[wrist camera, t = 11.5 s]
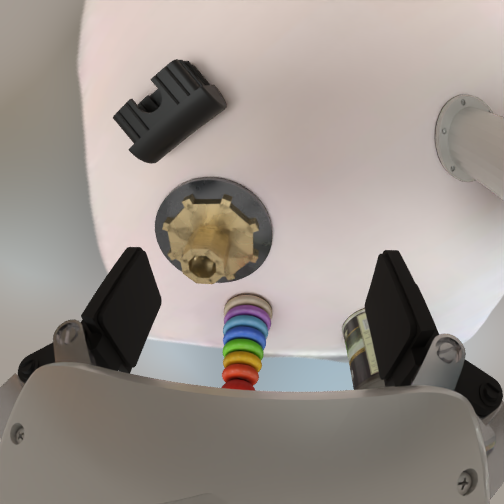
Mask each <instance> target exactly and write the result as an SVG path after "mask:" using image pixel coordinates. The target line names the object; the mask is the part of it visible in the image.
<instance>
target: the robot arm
mask: <svg viewBox="0 0 504 504" xmlns="http://www.w3.org/2000/svg"><path fill="white" fill-rule="evenodd" d="M435 140H436V149H437V153H438V156H439V159H440V161H441V163H442V165H443V167H444V168H445V170H446V171H447V172H448V173H449V174H450V175H452V176H453V177H455V178H456V179H458V180H460V181H464V182H473V181H476V180H477V181H478V182H480V183H481V184H482V185H484V186H485V187H486V188H488V189H489V190H490V191H492V192H493V193H494V194H495V195H497V196H498V197H499V198H500V199H502V200H503V201H504V117H501V116H498V115H496V114H493V113H492V111H491V110H490V108H489V107H488V106H487V105H486V104H485V103H484V102H483V101H482V100H480V99H479V98H477V97H474V96H470V95H459V96H456V97H454V98H452V99H451V100H450V101H448V103H447V104H446V105H445V106H444V107H443V109H442V111H441V113H440V115H439V118H438V121H437V126H436V136H435ZM160 306H161V296H160V293H159V290H158V287H157V284H156V282H155V279H154V276H153V273H152V270H151V267H150V264H149V260H148V257H147V254H146V252H145V251H143V250H142V248H140V247H128V248H127V249H126V250H125V251H124V252H123V254H122V255H121V257H120V258H119V259H118V261H117V262H116V264H115V265H114V266H113V268H112V269H111V271H110V272H109V274H108V275H107V276H106V278H105V279H104V281H103V282H102V284H101V285H100V287H99V288H98V290H97V291H96V293H95V295H94V296H93V297H92V299H91V301H90V302H89V304H88V306H87V307H86V309H85V310H84V312H83V313H82V315H81V317H82V319H83V320H82V321H81V323H80V322H79V321H77V320H68V321H65V322H64V323H62V324H61V325H60V326H59V327H58V328H57V329H56V331H55V333H54V335H53V343H51V344H49V345H47V346H45V347H44V348H42V349H40V350H38V351H36V352H34V353H32V354H30V355H28V356H27V357H25V358H24V359H23V361H22V362H21V363H20V365H19V369H18V375H17V374H14V375H13V376H12V377H11V378H10V379H8V381H7V382H5V383H4V384H3V385H2V386H1V387H0V438H1V442H0V504H490V499H491V498H492V497H493V495H494V494H495V493H496V492H497V490H498V489H499V488H500V486H501V485H502V483H503V482H504V402H503V401H502V398H503V394H502V389H501V386H500V384H499V383H498V382H497V381H496V380H495V379H494V378H493V377H491V376H489V375H488V374H486V373H485V372H483V371H482V370H480V369H479V368H477V367H476V366H474V365H473V364H471V363H470V362H468V361H467V360H465V355H466V353H465V348H464V346H463V344H462V343H461V341H460V340H459V339H458V338H456V337H455V336H453V335H450V334H440V335H439V333H438V331H437V328H436V326H435V323H434V321H433V319H432V316H431V314H430V312H429V309H428V307H427V305H426V303H425V300H424V298H423V296H422V294H421V292H420V290H419V287H418V286H417V284H415V282H414V280H413V278H412V276H411V274H410V272H409V270H408V268H407V266H406V264H405V262H404V260H403V258H402V256H401V254H400V252H399V251H397V250H385V251H384V252H383V254H379V256H378V260H377V264H376V267H375V271H374V275H373V278H372V282H371V285H370V289H369V292H368V295H367V299H366V302H365V313H366V317H367V321H368V325H369V329H370V334H371V338H372V342H373V347H374V351H375V356H376V361H377V366H378V371H379V376H380V379H381V380H384V383H385V388H375V389H362V390H345V391H327V392H326V391H324V392H276V391H253V390H238V389H226V388H215V387H206V386H198V385H191V384H184V383H177V382H171V381H165V380H159V379H154V378H148V377H143V376H138V375H133V374H130V372H131V369H132V367H135V366H136V364H137V361H138V359H139V356H140V354H141V351H142V349H143V346H144V344H145V341H146V339H147V337H148V334H149V332H150V330H151V327H152V325H153V322H154V320H155V318H156V315H157V313H158V311H159V309H160ZM118 370H119V371H118ZM389 386H395V387H389Z"/></svg>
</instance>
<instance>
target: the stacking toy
mask: <svg viewBox="0 0 504 504" xmlns="http://www.w3.org/2000/svg"><path fill="white" fill-rule="evenodd" d="M224 316H225V318H224V324H225V325H224V328H223V333H224V338H223V343H224V348H223V356H224V361H223V365H224V367H225V369H224V371H223V373H222V377H223V379H224V381H225V382H226V383H225V384H224V385H223V386H222V388H226V389H238V390H253V391H256V390H255V389H254V387H253V385H254V384H256V383H257V381H258V378H259V375H258V372H259V371H260V370H261V367H262V363H261V360H262V358H263V350H264V348H265V346H266V338H267V336H268V331H269V329H270V326H271V318H272V309H271V307H270V305H269V304H268V303H267V302H266V301H265V300H263V299H261V298H259V297H257V296H253V295H240V296H237V297H234V298H232V299H231V300H229V301H228V302H227V304H226V305H225V308H224Z"/></svg>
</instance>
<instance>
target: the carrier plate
mask: <svg viewBox="0 0 504 504" xmlns="http://www.w3.org/2000/svg"><path fill="white" fill-rule="evenodd" d="M191 194H193V196H194V198H195V199H222V198H223V195H224V194H227V195H229V196H232V201H231V203H232V204H233V205H234V206H235V207H237V208H238V209H239V210H240V211H241V212H242V213H243V214H244V215H246V216H247V217H248V218H249V219H253V218H256V219H257V221H258V223H259V231H256V232H253V238H254V249H257V250H259V256H258V259H257V261H256V263H254V262H251V261H249V262H248V263H247V264H245V265H244V266H243V267H242V268H240V269H239V270H238V271H236V276H235V279H231V280H227V278H226V276H223V277H221V278H220V279H219V280H218V281H216V282H215V283H224V282H231V281H236V280H239V279H242V278H244V277H246V276H248V275H250V274H251V273H253V272H254V271H256V270H257V269H258V268H259V267H260V266H261V265H262V264H263V262H264V261H265V259H266V258H267V256H268V254H269V251H270V248H271V243H272V226H271V221H270V218H269V215H268V212H267V211H266V209H265V207H264V205H263V204H262V203H261V201H260V200H259V199H258V198H257V197H256V196H255V195H254V194H253V193H252V192H251V191H249V190H248V189H247V188H245V187H243V186H242V185H240V184H238V183H235V182H233V181H230V180H227V179H222V178H216V177H204V178H197V179H193V180H190V181H187V182H185V183H183V184H181V185H179V186H178V187H176V188H175V189H174V190H173V191H172V192H171V193H170V194H169V195H168V196H167V197H166V198H165V200H164V201H163V203H162V204H161V206H160V208H159V210H158V212H157V216H156V221H155V233H156V238H157V242H158V244H159V246H160V249H161V250H162V252H163V254H164V255H165V257H166V258H167V259H168V260H169V261H170V262H171V263H172V264H173V265H174V266H175V267H176V268H177V269H179V270H180V271H182V267H181V262H180V261H178V260H177V259H174V260H171V259H170V257H169V256H168V252H169V250H170V248H171V246H170V241H169V236H168V231H165V230H163V229H162V228H163V224H164V222H165V220H166V219H167V217H169V218H172V219H173V218H174V217H175V216H176V215H177V214H178V213H179V211H180V210H181V209H182V208H183V207H184V205H183V203H182V201H183V199H184V198H185V197H186V196H189V195H191Z"/></svg>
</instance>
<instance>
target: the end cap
mask: <svg viewBox="0 0 504 504" xmlns="http://www.w3.org/2000/svg"><path fill="white" fill-rule="evenodd" d="M151 81H152V82H153V83H154V84H155V85H156V87H157V88H158V89H157V90H156V91H155V92H154V93H153V94H152V95H150V96H149V95H148V96H146V97H145V98H144V99H143V100H142V101H141V102H140V103H139V104H138V105H137V104H136V103H135V102H134V100H133V99H130V100H129V101H128V102H127V103H126V104H125V105H124V106H123V107H122V108H121V109H120V110H119V111H118V112H117V113H116V114H115V115H114V117H113V119H114V120H115V121H116V122H117V123H118V125H119V126H120V127H121V128H122V129H123V131H124V132H125V133H126V134H127V135H128V137H129V138H130V139H131V140H132V141H133V143H134V145H133V146H132V147H131V148H130V149H129V151H130V152H131V153H132V154H133V155H134V156H135V157H137V158H138V159H140V160H142V161H144V162H146V163H156V162H158V161H159V160H160V159H161V158H163V157H164V156H165V155H166V154H167V153H168V152H170V151H171V150H172V149H173V148H174V147H176V146H177V145H178V144H179V143H181V142H182V141H183V140H184V139H186V138H187V137H188V136H189V135H191V134H192V133H193V132H195V131H196V130H197V129H198V128H200V127H201V126H202V125H204V124H205V123H206V122H208V121H209V120H211V119H212V118H213V117H215V116H216V115H217V114H219V113H220V112H222V111H223V110H224V109H225V108H226V103H225V100H224V98H223V97H222V95H221V93H220V92H219V91H218V89H217V88H216V87H215V85H210V84H209V83H208V82H207V81H206V79H205V78H204V77H203V76H202V74H201V73H200V72H199V71H198V70H197V68H196V67H195V66H194V65H192V64H190V63H189V61H183V60H177V59H176V60H173V61H172V62H170V63H169V64H168V65H167V66H165V67H164V68H163V69H162V70H161V71H160V72H158V73H157V74H156V75H155V76H154V77H153V78H152V79H151Z"/></svg>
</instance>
